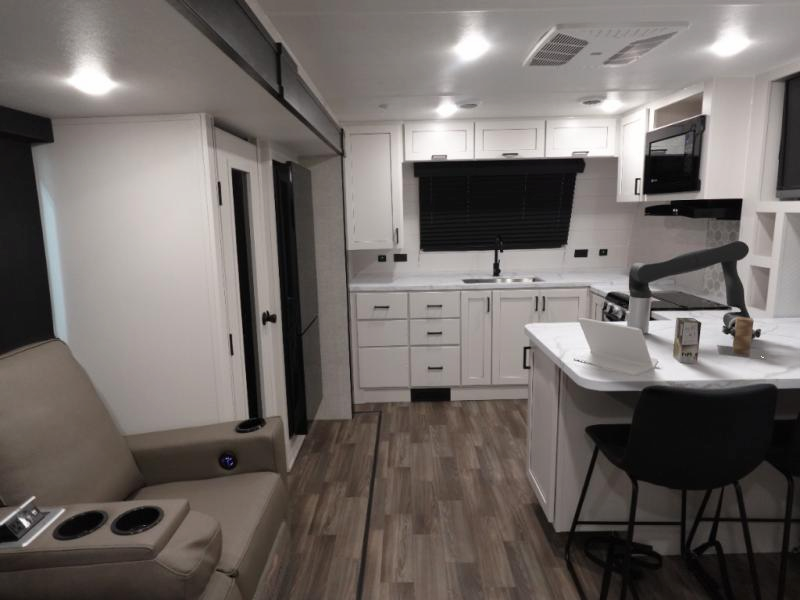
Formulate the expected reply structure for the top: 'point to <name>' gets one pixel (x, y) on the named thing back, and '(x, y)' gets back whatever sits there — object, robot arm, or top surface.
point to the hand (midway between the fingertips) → (743, 335)
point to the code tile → (728, 351)
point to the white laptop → (616, 347)
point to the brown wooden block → (743, 335)
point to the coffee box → (686, 340)
